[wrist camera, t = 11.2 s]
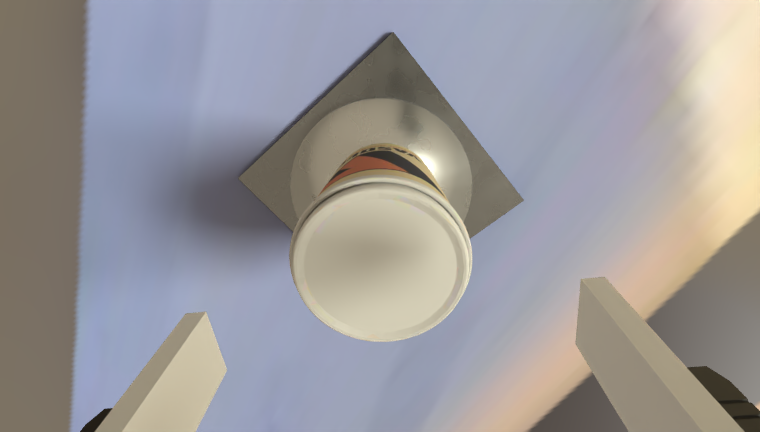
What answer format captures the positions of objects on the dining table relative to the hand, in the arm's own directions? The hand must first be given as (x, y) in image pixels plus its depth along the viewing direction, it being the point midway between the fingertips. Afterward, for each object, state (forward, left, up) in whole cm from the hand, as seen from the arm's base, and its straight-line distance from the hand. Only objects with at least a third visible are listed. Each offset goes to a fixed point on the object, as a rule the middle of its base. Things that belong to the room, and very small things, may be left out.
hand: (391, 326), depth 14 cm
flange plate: (+1, 0, -19) cm, 19 cm away
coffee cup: (+1, +1, -18) cm, 18 cm away
